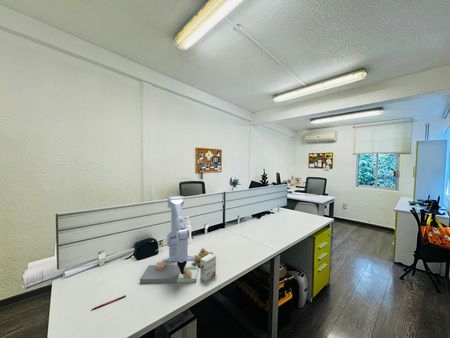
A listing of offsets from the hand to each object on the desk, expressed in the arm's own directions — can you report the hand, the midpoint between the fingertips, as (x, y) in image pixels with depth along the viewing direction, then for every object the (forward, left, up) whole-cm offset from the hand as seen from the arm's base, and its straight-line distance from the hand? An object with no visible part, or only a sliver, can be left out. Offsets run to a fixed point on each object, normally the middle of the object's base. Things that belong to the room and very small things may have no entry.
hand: (182, 273), depth 101 cm
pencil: (+17, -31, -4) cm, 36 cm away
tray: (-3, +3, -3) cm, 5 cm away
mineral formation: (-15, +12, -3) cm, 19 cm away
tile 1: (-7, -14, 0) cm, 16 cm away
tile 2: (0, +3, 0) cm, 3 cm away
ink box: (-2, +15, -3) cm, 15 cm away
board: (-3, -12, -3) cm, 13 cm away
